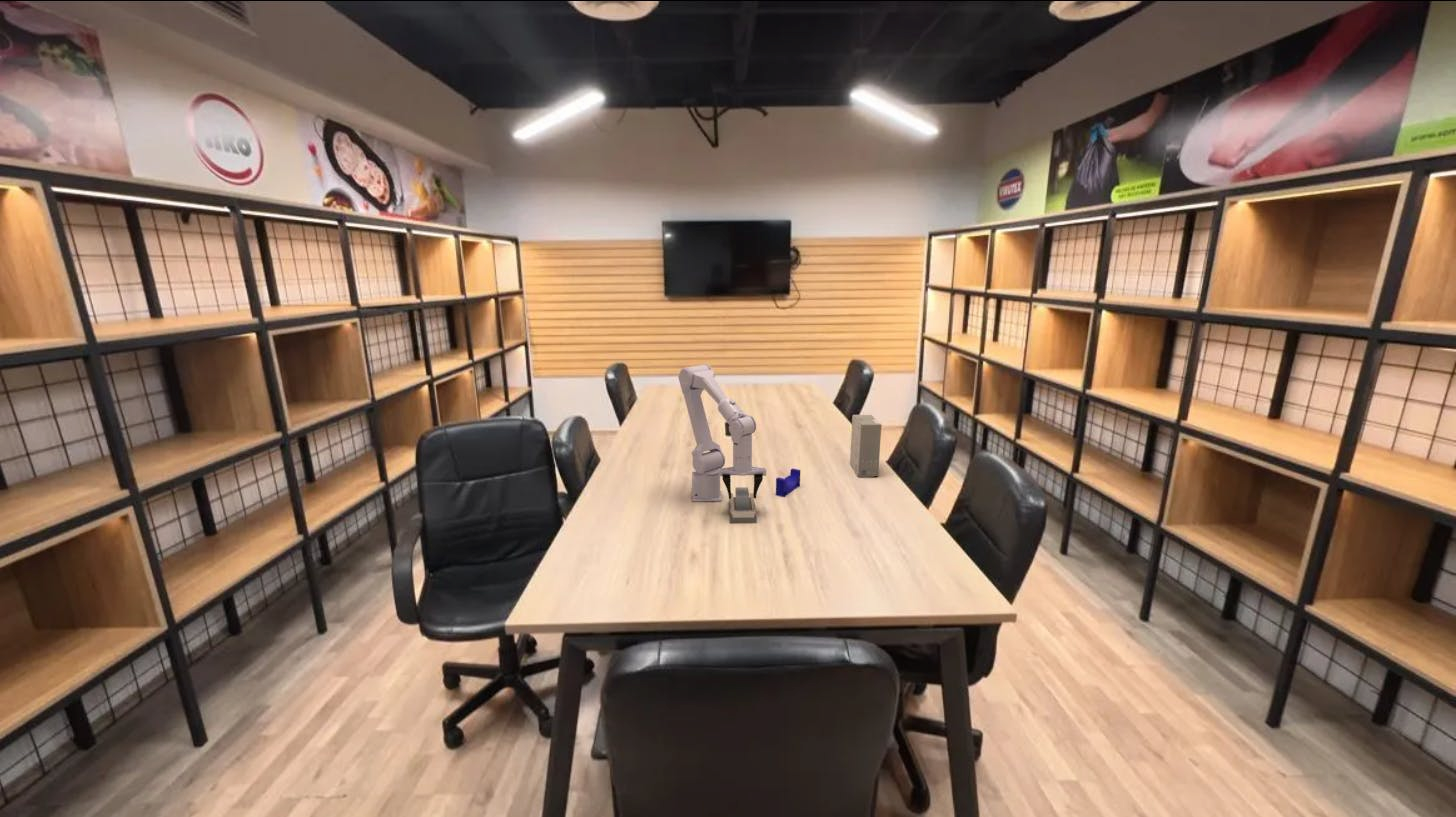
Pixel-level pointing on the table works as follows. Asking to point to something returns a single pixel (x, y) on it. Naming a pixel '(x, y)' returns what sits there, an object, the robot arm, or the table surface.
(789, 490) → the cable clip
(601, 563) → the table surface
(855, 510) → the table surface
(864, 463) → the hard drive box
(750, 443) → the robot arm
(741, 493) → the grey block
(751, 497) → the grey rectangular tray
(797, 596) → the table surface
